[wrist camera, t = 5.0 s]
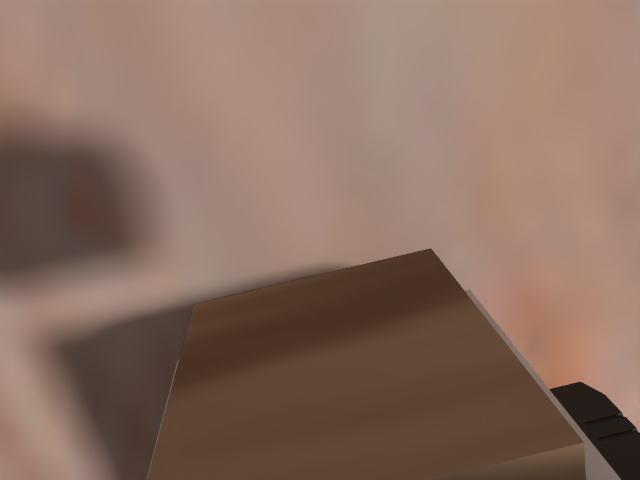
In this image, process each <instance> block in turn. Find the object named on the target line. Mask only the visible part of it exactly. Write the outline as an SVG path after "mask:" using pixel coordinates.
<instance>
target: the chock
mask: <svg viewBox="0 0 640 480" xmlns="http://www.w3.org/2000/svg"><path fill="white" fill-rule="evenodd" d="M147 480H586V469H585V450H584V442H583V440H582V439H581V438H580V437H579V435H578V434H577V433H576V432H575V430H574V429H573V428H572V427H571V425H570V424H569V423H568V421H567V420H566V419H565V418H564V416H563V415H562V414H561V413H560V411H559V410H558V409H557V407H556V406H555V405H554V404H553V402H552V401H551V400H550V399H549V397H548V396H547V395H546V394H545V392H544V391H543V390H542V388H541V387H540V386H539V385H538V383H537V382H536V381H535V380H534V378H533V377H532V376H531V375H530V373H529V372H528V371H527V369H526V368H525V367H524V366H523V364H522V363H521V362H520V361H519V359H518V358H517V357H516V356H515V354H514V353H513V352H512V350H511V349H510V348H509V347H508V345H507V344H506V343H505V342H504V340H503V339H502V338H501V336H500V335H499V334H498V333H497V331H496V330H495V329H494V328H493V326H492V325H491V324H490V323H489V321H488V320H487V319H486V317H485V316H484V315H483V314H482V312H481V311H480V310H479V309H478V307H477V306H476V305H475V304H474V302H473V301H472V300H471V298H470V297H469V296H468V295H467V293H466V292H465V291H464V290H463V288H462V287H461V286H460V285H459V283H458V282H457V281H456V279H455V278H454V277H453V276H452V274H451V273H450V272H449V271H448V269H447V268H446V267H445V265H444V264H443V263H442V262H441V260H440V259H439V258H438V257H437V255H436V254H435V253H434V252H433V250H432V249H431V248H430V249H426V250H422V251H418V252H413V253H409V254H405V255H401V256H397V257H392V258H388V259H384V260H380V261H375V262H371V263H367V264H363V265H358V266H354V267H350V268H346V269H341V270H337V271H333V272H329V273H324V274H320V275H316V276H312V277H307V278H303V279H299V280H295V281H290V282H286V283H282V284H278V285H273V286H269V287H265V288H261V289H256V290H252V291H248V292H244V293H239V294H235V295H231V296H227V297H222V298H218V299H214V300H210V301H205V302H201V303H197V304H194V306H193V309H192V313H191V317H190V321H189V324H188V328H187V332H186V336H185V339H184V343H183V347H182V351H181V354H180V358H179V362H178V366H177V369H176V373H175V377H174V381H173V384H172V388H171V392H170V396H169V399H168V403H167V407H166V411H165V414H164V418H163V422H162V426H161V429H160V433H159V437H158V441H157V444H156V448H155V452H154V456H153V459H152V463H151V467H150V471H149V474H148V478H147Z"/></svg>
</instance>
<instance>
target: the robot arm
mask: <svg viewBox="0 0 640 480" xmlns="http://www.w3.org/2000/svg"><path fill="white" fill-rule="evenodd" d="M465 292H466V293H467V295H468V296H469V297H470V298H471V300H472V301H473V302H474V304H475V305H476V306H477V307H478V309H479V310H480V311H481V312H482V314H483V315H484V316H485V317H486V319H487V320H488V321H489V323H490V324H491V325H492V326H493V328H494V329H495V330H496V331H497V333H498V334H499V335H500V336H501V338H502V339H503V340H504V342H505V343H506V344H507V345H508V347H509V348H510V349H511V350H512V352H513V353H514V354H515V356H516V357H517V358H518V359H519V361H520V362H521V363H522V364H523V366H524V367H525V368H526V369H527V371H528V372H529V373H530V375H531V376H532V377H533V378H534V380H535V381H536V382H537V383H538V385H539V386H540V387H541V388H542V390H543V391H544V392H545V394H546V395H547V396H548V397H549V399H550V400H551V401H552V402H553V404H554V405H555V406H556V407H557V409H558V410H559V411H560V413H561V414H562V415H563V416H564V418H565V419H566V420H567V421H568V423H569V424H570V425H571V427H572V428H573V429H574V430H575V432H576V433H577V434H578V435H579V437H580V438H581V439H582V440H583V442H584V450H585V469H586V480H640V433H638V431H637V428H636V427H635V426H634V425H633V424H632V423H631V422H630V421H629V420H628V419H627V418H626V417H623V414H622V412H621V411H620V410H619V409H618V408H617V407H616V406H615V405H614V404H613V403H612V402H611V401H610V400H609V399H608V397H607V396H606V395H604V394H602V393H601V392H599V391H597V390H595V389H593V388H591V387H589V386H588V385H586V384H584V383H582V382H577V383H573V384H569V385H565V386H561V387H557V388H553V389H548V387H547V386H546V385H545V384H544V382H543V381H542V380H541V378H540V377H539V376H538V375H537V373H536V372H535V371H534V370H533V368H532V367H531V366H530V365H529V363H528V362H527V361H526V360H525V358H524V357H523V356H522V355H521V353H520V352H519V351H518V350H517V348H516V347H515V346H514V345H513V343H512V342H511V341H510V340H509V338H508V337H507V336H506V335H505V333H504V332H503V331H502V330H501V328H500V327H499V326H498V325H497V323H496V322H495V321H494V320H493V318H492V317H491V316H490V315H489V313H488V312H487V311H486V310H485V308H484V307H483V306H482V304H481V303H480V302H479V301H478V299H477V298H476V297H475V296H474V294H473V293H472V292H471V291H470V290H468V291H465ZM178 362H179V360H177V363H176V367H175V371H174V375H173V379H172V382H171V386H170V390H169V394H168V398H167V401H166V405H165V409H164V413H163V417H162V421H161V424H160V428H159V432H158V436H157V440H156V443H155V447H154V451H153V455H152V459H153V456H154V452H155V448H156V444H157V441H158V437H159V433H160V429H161V426H162V422H163V418H164V414H165V411H166V407H167V403H168V399H169V396H170V392H171V388H172V384H173V381H174V377H175V373H176V369H177V366H178ZM152 459H151V462H150V466H149V470H148V474H149V471H150V467H151V463H152ZM148 474H147V478H148ZM147 478H146V480H147Z"/></svg>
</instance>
